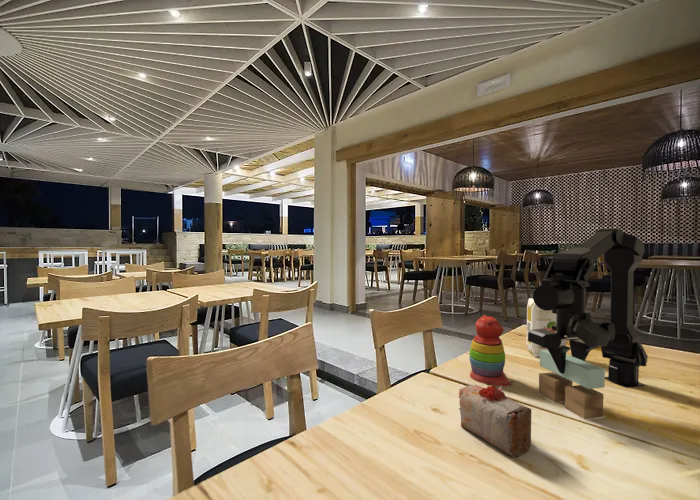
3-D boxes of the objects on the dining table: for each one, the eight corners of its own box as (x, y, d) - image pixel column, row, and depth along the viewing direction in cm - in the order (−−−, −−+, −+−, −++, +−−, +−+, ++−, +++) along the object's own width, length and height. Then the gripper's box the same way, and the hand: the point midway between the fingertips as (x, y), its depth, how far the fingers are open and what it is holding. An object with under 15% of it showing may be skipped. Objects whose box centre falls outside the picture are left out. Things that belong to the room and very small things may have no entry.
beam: (539, 365, 87) (540, 350, 87) (553, 364, 88) (553, 349, 88) (589, 389, 74) (589, 370, 73) (604, 387, 74) (604, 369, 74)
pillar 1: (555, 391, 88) (555, 371, 88) (572, 400, 83) (572, 379, 83) (538, 393, 87) (539, 373, 87) (554, 402, 82) (554, 381, 82)
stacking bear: (512, 389, 90) (513, 321, 90) (472, 385, 92) (472, 319, 92) (502, 373, 101) (503, 313, 100) (466, 371, 103) (467, 311, 102)
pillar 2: (582, 405, 80) (583, 384, 80) (603, 416, 75) (603, 394, 75) (564, 408, 79) (565, 386, 79) (584, 419, 74) (584, 396, 74)
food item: (452, 425, 72) (453, 379, 72) (478, 416, 76) (479, 372, 76) (510, 462, 61) (511, 406, 60) (537, 448, 64) (538, 396, 64)
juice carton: (524, 350, 122) (525, 297, 122) (550, 351, 121) (551, 298, 121) (532, 357, 115) (533, 301, 114) (560, 359, 114) (561, 301, 113)
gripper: (565, 315, 71) (564, 390, 71) (637, 311, 75) (636, 382, 75) (526, 305, 81) (525, 370, 82) (591, 302, 85) (590, 364, 86)
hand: (569, 372), depth 81 cm, fingers closed on beam, 4 cm apart
